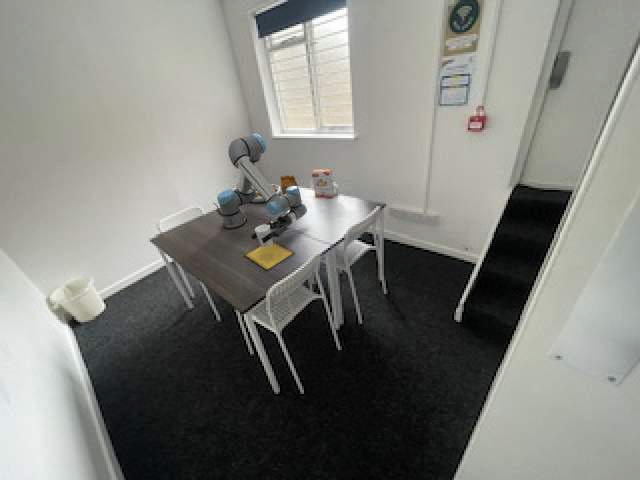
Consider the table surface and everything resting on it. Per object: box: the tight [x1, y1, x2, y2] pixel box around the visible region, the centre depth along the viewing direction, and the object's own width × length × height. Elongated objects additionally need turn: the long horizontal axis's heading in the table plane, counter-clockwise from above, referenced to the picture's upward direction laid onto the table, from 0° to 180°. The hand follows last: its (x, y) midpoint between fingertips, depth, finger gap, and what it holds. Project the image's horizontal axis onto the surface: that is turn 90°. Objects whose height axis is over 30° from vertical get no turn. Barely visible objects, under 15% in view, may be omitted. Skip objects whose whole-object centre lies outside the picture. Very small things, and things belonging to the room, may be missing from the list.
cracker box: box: [311, 169, 335, 199], centre depth 199 cm, size 14×6×21 cm, turn 68°
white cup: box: [254, 224, 274, 247], centre depth 139 cm, size 8×8×10 cm
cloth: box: [244, 241, 294, 271], centre depth 146 cm, size 22×18×1 cm
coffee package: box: [279, 175, 299, 196], centre depth 197 cm, size 10×12×22 cm
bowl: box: [250, 184, 282, 203], centre depth 221 cm, size 30×30×8 cm
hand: (257, 239), depth 135 cm, fingers closed on white cup, 8 cm apart
